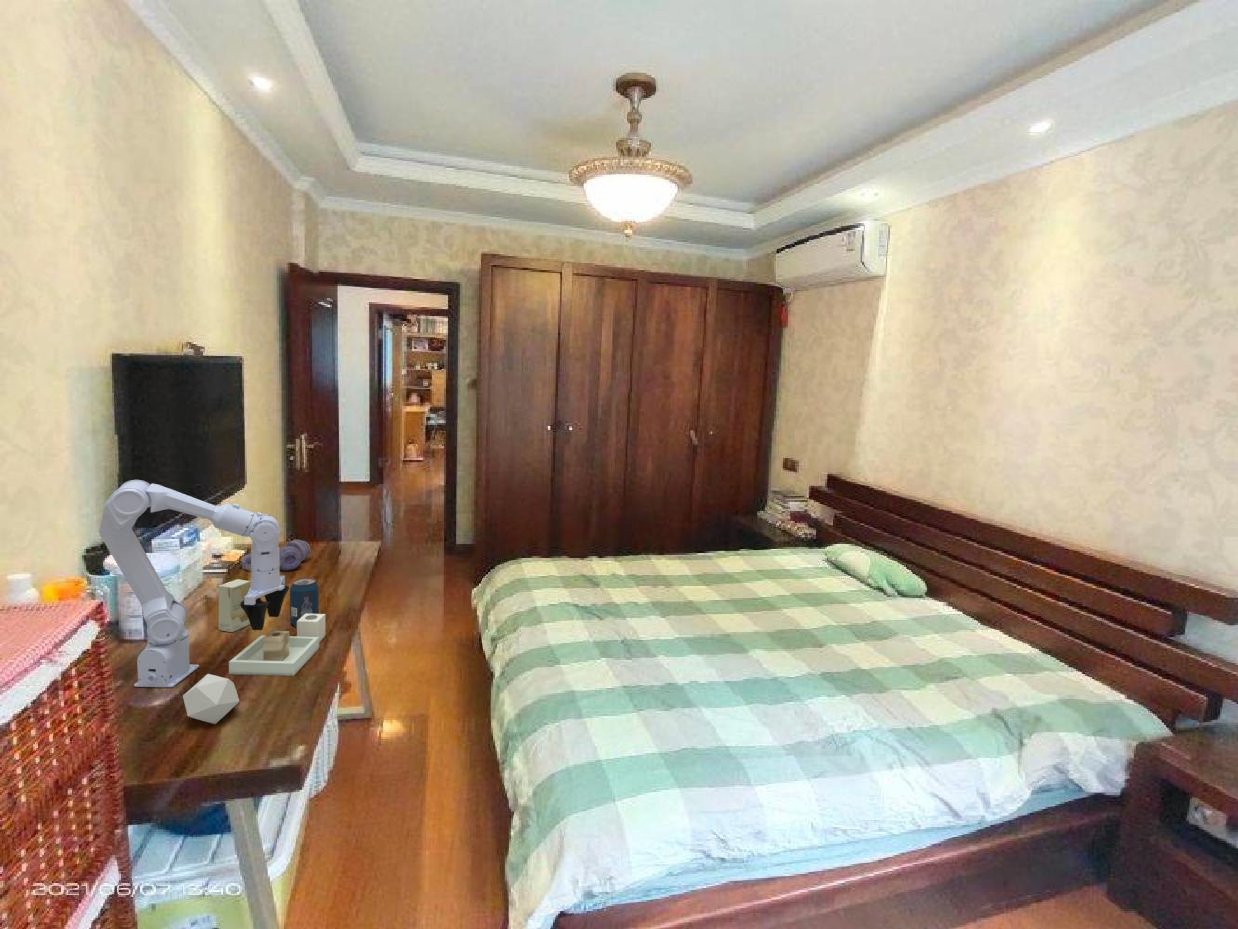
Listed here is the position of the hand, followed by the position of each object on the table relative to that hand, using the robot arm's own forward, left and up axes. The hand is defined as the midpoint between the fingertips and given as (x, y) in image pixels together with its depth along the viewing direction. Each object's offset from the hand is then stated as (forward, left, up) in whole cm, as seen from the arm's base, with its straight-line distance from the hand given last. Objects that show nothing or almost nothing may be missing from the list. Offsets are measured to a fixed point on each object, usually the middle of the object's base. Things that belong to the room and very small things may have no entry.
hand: (265, 622), depth 140 cm
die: (-24, -1, -10) cm, 26 cm away
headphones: (+69, +31, -10) cm, 76 cm away
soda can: (+22, +1, -10) cm, 24 cm away
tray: (0, -2, -9) cm, 10 cm away
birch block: (0, -2, -9) cm, 9 cm away
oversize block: (+12, -5, -9) cm, 16 cm away
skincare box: (+18, +17, -10) cm, 26 cm away
